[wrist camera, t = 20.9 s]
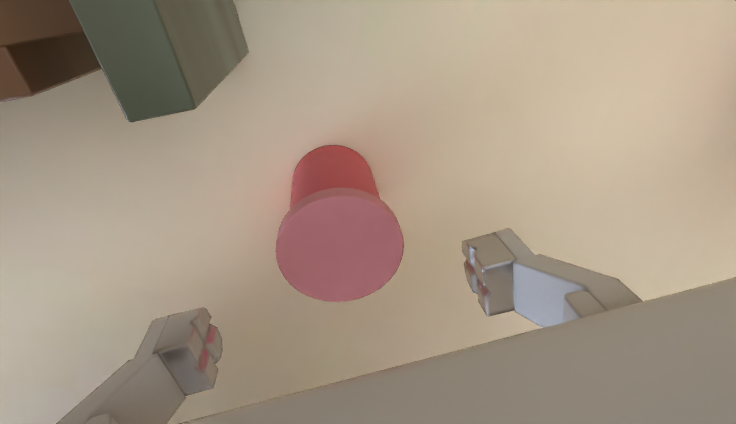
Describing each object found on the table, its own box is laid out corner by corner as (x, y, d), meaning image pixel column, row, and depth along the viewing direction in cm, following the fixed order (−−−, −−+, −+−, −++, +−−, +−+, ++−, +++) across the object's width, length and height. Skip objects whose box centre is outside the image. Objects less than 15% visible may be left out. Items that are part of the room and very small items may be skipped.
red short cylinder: (285, 222, 17) (276, 303, 13) (284, 134, 15) (273, 194, 11) (375, 223, 17) (396, 301, 13) (384, 139, 16) (412, 197, 11)
